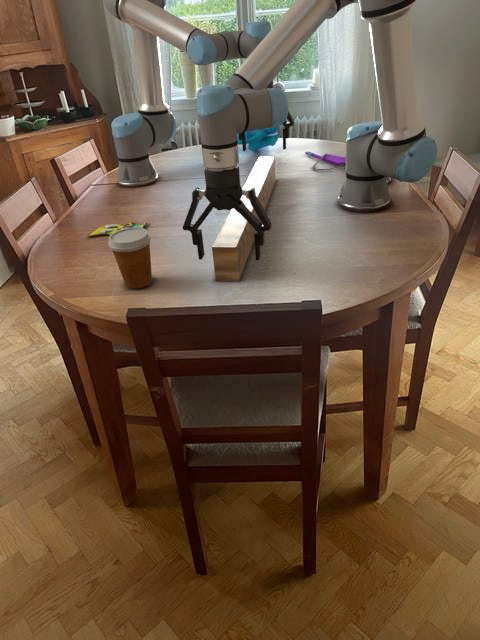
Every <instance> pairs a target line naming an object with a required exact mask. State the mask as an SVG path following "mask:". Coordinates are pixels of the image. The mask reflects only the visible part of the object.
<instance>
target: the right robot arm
mask: <svg viewBox="0 0 480 640" xmlns="http://www.w3.org/2000/svg"><path fill="white" fill-rule="evenodd" d="M416 3H417V0H295V1H294V3H293V4H292V5H291V6H290V7H289V8H288V9H287V11H286V12H285V13H284V14H283V15H282V16H281V18H280V19H279V20H278V21H277V22H276V24H275V25H274V26H273V27H271V31H270V32H269V33H268V34H267V35H266V37H265V38H264V39H263V40H262V41H261V42H260V44H259V45H258V46H257V47H256V48H255V49H254V51H253V52H252V53H251V54H250V55H249V56H248V58H245V60H244V61H243V62H242V63H241V64H240V65H239V67H238V68H237V69H236V70H235V72H233V74H232V75H231V76H229V78H228V79H227V81H225V83H220V84H212V85H211V84H210V85H205V86H202V87H200V88H198V90H197V91H196V114H197V118H198V125H199V127H198V128H199V133H200V144H201V156H202V164H203V167H204V171H203V172H204V183H205V189H201V188H200V187H195V188H194V190H193V191H192V192H191V194H192V195H191V203H190V205H189V206H190V207H189V208H188V211H187V214H186V217H185V220H184V222H183V225H182V230H183V231H184V232H185V231H187V232H189V233H190V234H191V241H192V245H193V246H196V249H197V256H198V260H203V259H204V257H205V254H206V253H205V248H204V237H203V230H202V229H201V228H200V226H202V224H203V223H204V222H205V220H206V219H207V217H208V216H209V214H210V213H211V212H212V211H213V209H215V210H217V211H223V210H225V211H231V210H232V209H233V208H234V209H235V210H236V211H237V212H239V213H240V214H241V215H242V216H243V217H244V218H245V219H246V220H247V222H248V223H249V224H250V225H251V226H252V227H253V228H254V229H255V230H256V231H255V233H254V254H255V255H254V256H255V261H260V258H261V247H263V246H264V244H265V232H266V231H267V232H269V231H270V230H271V229H272V225H273V224H272V221H271V220H270V218H269V215H268V214H267V212H266V210H265V211H264V209H263V207H262V205H261V203H260V202H259V200H258V198H257V196H256V190H255V187H251V188H250V189H243V187H242V186H241V175H240V166H239V165H238V164H239V163H240V157H239V145H238V142H237V134H238V133H244V132H249V131H255V130H260V129H266V128H272V127H275V126H279V127H280V126H282V124H283V123H284V122H285V120H286V121H287V116H288V110H289V101H288V98H287V96H286V93H285V91H284V90H282V89H281V88H278V87H273V88H271V89H270V88H266V87H267V86H268V85H269V84H270V83H271V82H272V80H273V81H274V80H275V78H276V77H277V76H278V75H280V73H281V71H282V70H283V69H284V68H285V67H286V66H287V65H288V63H289V62H290V61H292V59H293V57H295V55H296V54H297V53H298V52H299V51H300V50H301V48H302V47H303V46H304V45H305V44H306V42H308V41H309V39H310V38H311V37H312V35H314V33H315V32H316V31H317V30H318V29H319V28H320V26H322V24H323V23H324V22H325V21H326V20H331V19H333V18H334V17H335V16H336V15H337V14H338V13H339V12H340V11H341V10H343V9H344V8H345V7H348V6H349V5H352V4H358V6H359V11H360V18H361V19H362V21H365V22H366V23H368V25H369V32H370V40H371V41H370V42H371V48H372V49H371V50H372V55H373V57H372V58H373V63H374V71H375V79H376V87H377V95H378V102H379V110H380V118H381V120H380V121H379V120H377V121H368V122H363V123H362V122H361V123H358V124H353V125H352V126H350V127H349V128H348V130H347V134H346V140H345V157H346V165H345V176H344V181H343V182H342V186H341V189H340V192H339V195H338V197H337V206H339V208H340V209H343V210H345V211H349V212H354V213H373V212H379V211H383V210H385V209H387V208H388V207H389V206H390V205H391V194H390V189H389V186H388V185H390V184H391V183H392V182H393V180H396V181H398V182H402V183H403V182H404V183H409V184H413V183H417V182H419V181H420V180H422V179H424V178H425V177H426V176H427V175H428V173H429V172H430V171H431V169H432V167H433V166H434V164H435V161H436V159H437V155H438V144H437V141H436V140H435V139H433V137H431V136H427V129H426V122H425V121H424V120H423V119H421V118H419V114H418V113H419V110H418V100H417V86H416V73H415V63H414V62H415V61H414V48H413V37H412V26H411V25H412V23H411V10H412V8H414V6H415V4H416ZM265 88H266V89H265ZM387 179H388V180H389V181H388V182H387ZM242 195H244V196H246V198H247V199H249V200H250V203H251V205H252V207H253V208H254V210H255V212H256V214H257V215H258V217H259V219H260V221H261V222H260V221H259V220H258V219H257V218H256V217H255V216H254V215H253V214H252V213H251V212H250V210H249V209H248V208H247V207H246V206H245V205H244V203H243V202H242V201H241V200H240V199H241V197H242ZM203 197H205V199H206V200H207V202H209V203H208V205H207V206H206V207H205V209H204V210H203V211H202V213H201V214H200V215H199V217H198V218H197V220H196V221H195V222H194V223H192V222H193V219H194V216H195V214H196V211H197V208H198V206H199V203H200V201H201V200H202V199H203Z"/></svg>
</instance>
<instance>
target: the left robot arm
mask: <svg viewBox="0 0 480 640" xmlns="http://www.w3.org/2000/svg"><path fill="white" fill-rule="evenodd" d="M103 4H104V6H105V7H106V9H107V12H109V13H110V14H111V15H112V16H113V17H114V18H115V19H117V20H119V21H121V22H123V23H124V24H127V25H129V27H130V28H131V29H132V37H133V45H134V46H133V47H134V55H135V64H136V71H137V80H138V87H139V96H140V98H139V99H140V104H139V106H137V112H131V113H130V112H129V113H126V114H122V115H120V116H117V117H115V118H114V119H113V120H112V122H111V124H110V125H111V135H112V138H113V142H114V146H115V151H116V155H117V160H118V167H117V168H118V170H117V183H118V186H120V187H123V188H124V187H125V188H136V187H137V188H138V187H145V186H147V185H148V186H149V185H151V184H154V183H156V182H157V181H158V180H159V176H158V172H157V169H156V168H155V166H154V163H153V161H152V159H151V156H150V151H149V149H151V148H153V147H156V146H159V145H164V144H166V143H167V142H169V141H171V140H172V139H173V138H174V137H175V135H176V132H177V119H176V117H175V116H174V113H173V112H172V111H171V110H170V106H169V105H168V104H167V103H166V102H165V95H164V86H163V84H164V83H163V74H162V64H161V63H162V62H161V52H160V51H161V50H160V43H159V41H160V40H162V41H164V42H165V43H167V44H168V45H171V46H172V47H174V48H176V49H178V50H180V51H181V52H183V53H184V54H187V57H188V59H189V60H190V62H191V63H192V64H194V65H195V66H209V65H211V64H216V63H219V62H225V61H230V60H236V59H237V60H239V59H247V58H248V56H249V55H250V54H251V53H252V52H253V51H254V49H255V48H256V47H257V46H258V45H259V44H260V42H261V41H262V40H263V39H264V38H265V37H266V35H267V34H268V33H269V32H270V31H271V30H272V25H271V23H270V22H269V21H268V20H260V21H250V22H247V23H246V24H245V29H243V30H224V31H220V32H216V33H208V32H206V31H204V30H202V29H200V28H199V27H197V26H195V25H193V24H191V23H190V22H188V21H186V20H184V19H182V18H180V17H179V16H176V15H175V14H173V13H172V12H169V11H168V10H165V9H166V7H167V0H103ZM159 39H160V40H159ZM266 88H270V89H271V88H274V79H273V80H272V82H271V83H270V84H269V85H268V86H267V87H266ZM266 88H265V89H266ZM281 126H283V127H282V150H286V149H287V139H289V138H290V128H291V127H293V126H295V120H294V118H293V116H292V114H291V112H290V110H289V109H288V116H287V118H286V120H285V122H284V123H283V124H281ZM239 140H242V145H241V147H242V152H246V150H247V144H246V137H245V132H244V133H239Z"/></svg>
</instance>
